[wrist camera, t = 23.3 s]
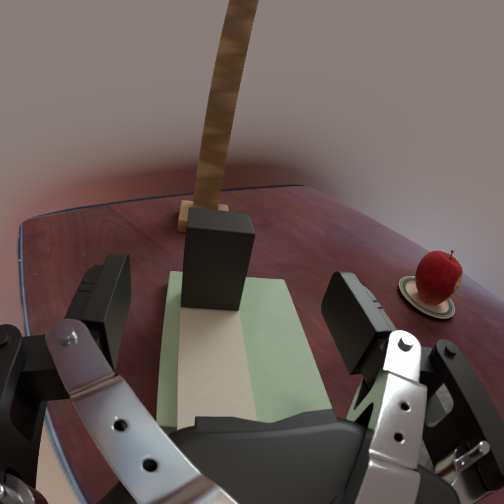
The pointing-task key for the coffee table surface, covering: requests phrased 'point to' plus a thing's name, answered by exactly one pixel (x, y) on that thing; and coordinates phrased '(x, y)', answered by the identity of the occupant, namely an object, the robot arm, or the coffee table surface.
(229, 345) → the wooden mallet
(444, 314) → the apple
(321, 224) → the coffee table surface
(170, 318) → the pale green rectangular panel
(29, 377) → the robot arm
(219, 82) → the stand
